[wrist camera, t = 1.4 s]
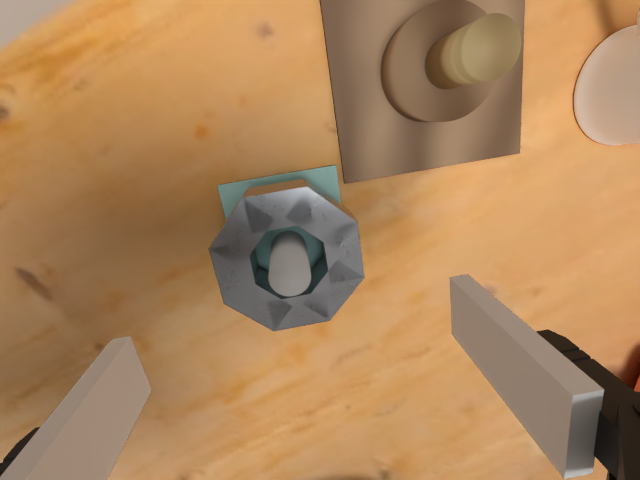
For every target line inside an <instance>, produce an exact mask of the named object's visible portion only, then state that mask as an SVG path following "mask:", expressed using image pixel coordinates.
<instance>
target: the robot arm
mask: <svg viewBox="0 0 640 480" xmlns="http://www.w3.org/2000/svg"><path fill="white" fill-rule="evenodd" d="M450 299H451V325H452V335H453V336H454V337H455V339H456V340H457V341H458V343H459V344H460V345H461V346H462V348H463V349H464V350H465V352H466V353H467V354H468V355H469V357H470V358H471V359H472V361H473V362H474V363H475V365H476V366H477V367H478V368H479V370H480V371H481V372H482V374H483V375H484V376H485V377H486V379H487V380H488V381H489V383H490V384H491V385H492V386H493V388H494V389H495V390H496V392H497V393H498V394H499V396H500V397H501V398H502V399H503V401H504V402H505V403H506V405H507V406H508V407H509V408H510V410H511V411H512V412H513V414H514V415H515V416H516V418H517V419H518V420H519V421H520V423H521V424H522V425H523V427H524V428H525V429H526V430H527V432H528V433H529V434H530V436H531V437H532V438H533V439H534V441H535V442H536V443H537V445H538V446H539V447H540V449H541V450H542V451H543V452H544V454H545V455H546V456H547V458H548V459H549V460H550V461H551V463H552V464H553V465H554V467H555V468H556V469H557V470H558V472H559V473H560V474H561V476H562V477H563V478H564V479H568V478H573V477H578V476H582V475H587V474H592V473H593V466H594V459H595V457H596V458H597V459H598V460H599V461H600V462H601V463H602V464H603V465H604V466H605V468H606V469H607V470H608V473H607V479H606V480H640V392H635V391H634V390H633V389H631V388H630V387H629V386H627V385H626V384H625V383H624V382H622V381H621V380H620V379H618V378H617V377H616V376H615V375H613V374H612V373H611V372H609V371H608V370H607V369H606V368H604V367H603V366H602V365H600V364H599V363H598V362H597V361H595V360H594V359H591V358H590V356H589V355H588V354H586V353H585V352H584V351H582V350H579V347H577V346H576V345H575V344H573V343H572V342H571V341H570V340H568V339H567V338H566V337H564V336H561V335H559V334H557V333H555V332H552V331H550V330H543V331H537V332H536V331H534V330H533V329H532V328H531V327H530V326H528V325H527V324H526V323H525V322H524V321H523V320H521V319H520V318H519V317H518V316H517V315H515V314H514V313H513V312H512V311H511V310H510V309H508V308H507V307H506V306H505V305H504V304H502V303H501V302H500V301H499V300H498V299H497V298H495V297H494V296H493V295H492V294H491V293H489V292H488V291H487V290H486V289H485V288H484V287H482V286H481V285H480V284H479V283H478V282H476V281H475V280H474V279H473V278H472V277H471V276H469V275H468V274H465V275H460V276H455V277H450ZM151 391H152V390H151V387H150V385H149V382H148V380H147V377H146V374H145V372H144V369H143V367H142V364H141V362H140V359H139V357H138V354H137V352H136V349H135V346H134V344H133V341H132V339H131V336H127V337H122V338H116V339H111V340H110V342H109V343H108V344H107V345H106V346H105V348H104V349H103V350H102V351H101V353H100V354H99V355H98V356H97V358H96V359H95V360H94V361H93V363H92V364H91V365H90V366H89V368H88V369H87V370H86V371H85V372H84V374H83V375H82V376H81V377H80V379H79V380H78V381H77V382H76V384H75V385H74V386H73V387H72V389H71V390H70V391H69V392H68V394H67V395H66V396H65V397H64V399H63V400H62V401H61V402H60V403H59V405H58V406H57V407H56V408H55V410H54V411H53V412H52V413H51V415H50V416H49V417H48V418H47V420H46V421H45V422H44V423H43V425H42V426H41V427H38V428H35V429H34V430H32V431H31V432H30V433H29V434H28V435H26V436H25V437H24V438H23V439H22V440H20V441H19V442H18V443H17V444H16V445H15V446H14V448H13V449H12V450H11V451H10V452H9V453H8V455H7V456H6V457H5V458H4V459H3V463H0V480H107V479H108V477H109V475H110V473H111V471H112V469H113V467H114V465H115V463H116V461H117V459H118V457H119V455H120V453H121V451H122V449H123V447H124V445H125V443H126V441H127V439H128V437H129V435H130V433H131V431H132V429H133V427H134V425H135V423H136V421H137V419H138V417H139V415H140V413H141V411H142V409H143V407H144V405H145V403H146V401H147V399H148V397H149V395H150V393H151Z"/></svg>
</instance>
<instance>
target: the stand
mask: <svg viewBox="0 0 640 480" xmlns="http://www.w3.org/2000/svg"><path fill="white" fill-rule="evenodd" d="M299 179H306V180H307V181H308V182H310V183H311V184H313V185H314V186H315V187H317V188H318V189H320V190H321V191H322V192H324V193H325V194H327V195H328V196H330V197H331V198H332V199H334V200H335V201H337V202H338V203H339V204H341V197H340V190H339V183H338V176H337V169H336V165H330V166H324V167H319V168H313V169H307V170H301V171H295V172H290V173H284V174H278V175H272V176H266V177H260V178H255V179H249V180H243V181H237V182H231V183H225V184H220V185H217V187H218V191H219V195H220V199H221V203H222V207H223V210H224V214H225V218H226V220H227V219H228V217H229V216H230V214H231V213H232V211H233V210H234V208H235V207H236V205H237V204H238V202H239V201H240V199H241V198H242V196H243V195H244V193H245V192H246V190H247V189H248V188H252V187H258V186H264V185H270V184H276V183H281V182H287V181H293V180H299ZM255 251H256V256H257V260H258V264H259V266H260V267H262V268H264V269H265V270H267V271H269V275H268V279H269V283H270V286H271V287H272V289H273V290H274V291H275V292H277V293H278V294H280V295H283V296H296V295H299V294H301V293H302V292H304V291H305V290H306V289H307V288H308V286H309V284H310V282H311V269H312V268H313V267H314V266H315V264H316V263H317V262H318V260H319V259H320V258H321V256H322V255H323V249H322V243H321V240H319V239H318V238H316V237H315V236H313V235H312V234H310V233H309V232H307V231H306V230H304V229H303V228H301V227H300V226H293V227H287V228H282V229H276V230H270V231H266V233H265V234H264V235H263V237H262V238H261V240H260V241H259V242H258V244H257V245H256V247H255Z"/></svg>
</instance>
